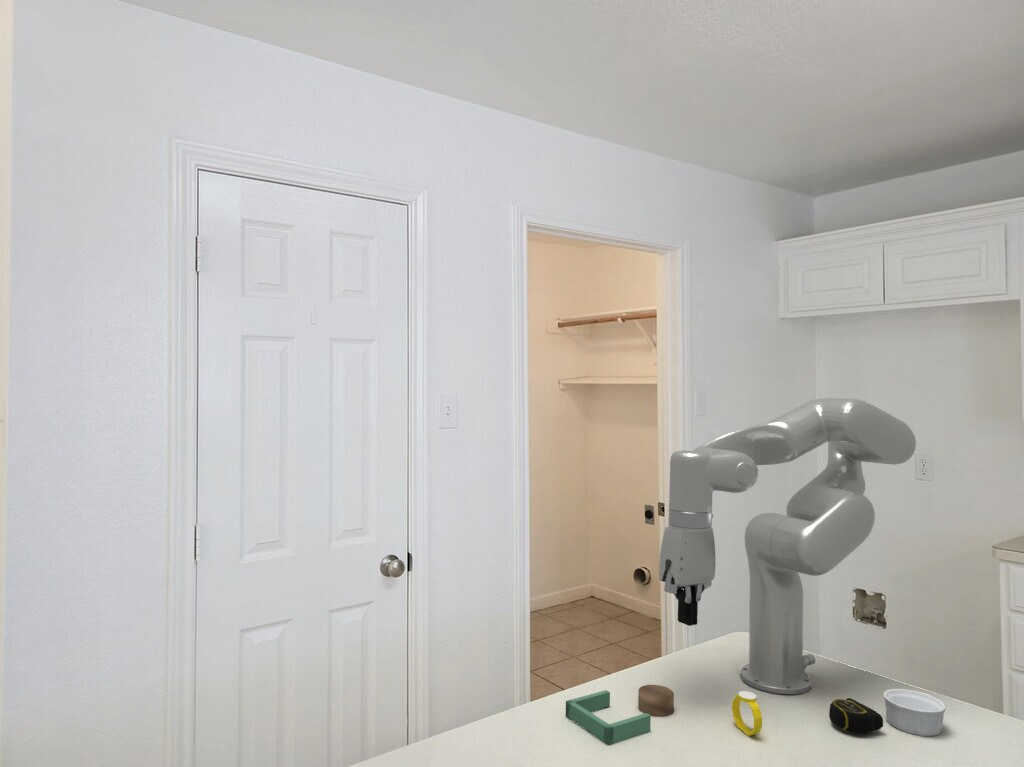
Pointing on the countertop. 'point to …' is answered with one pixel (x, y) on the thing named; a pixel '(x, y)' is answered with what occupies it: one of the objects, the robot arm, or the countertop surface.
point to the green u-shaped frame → (606, 732)
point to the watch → (751, 700)
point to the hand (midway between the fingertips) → (687, 622)
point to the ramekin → (914, 712)
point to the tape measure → (854, 716)
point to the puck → (656, 700)
